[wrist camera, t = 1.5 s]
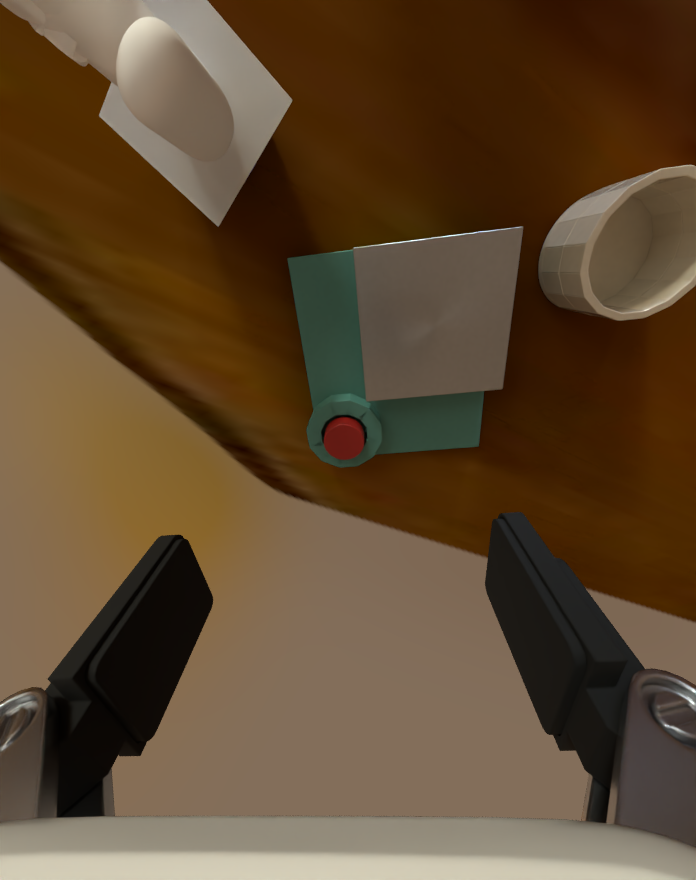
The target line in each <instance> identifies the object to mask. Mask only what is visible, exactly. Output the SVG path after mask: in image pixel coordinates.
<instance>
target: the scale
mask: <svg viewBox="0 0 696 880" xmlns="http://www.w3.org/2000/svg"><path fill="white" fill-rule="evenodd" d="M287 260H288V265H289V271H290V277H291V283H292V289H293V295H294V300H295V306H296V312H297V318H298V324H299V330H300V335H301V341H302V347H303V353H304V359H305V364H306V370H307V376H308V382H309V388H310V394H311V399H312V405H313V413H312V415H311V418H310V420H309V423H308V426H307V430H306V431H307V436H308V442H309V446H310V448H311V450H312V451H313V452H314V453H315V454H316V455H317V456H318V457H319V458H320V460H321V461H323V462H326V463H329V464H331V465H334V466H336V467H354V466H359V465H361V464H362V463H364V462H366V461H367V460H369V459H371V458H372V457H374V455H376V454H389V453H402V452H415V451H428V450H441V449H453V448H466V447H478V446H479V438H480V428H481V418H482V408H483V398H484V391H477V392H466V393H455V394H443V395H432V396H421V397H410V398H399V399H388V400H377V401H366V394H365V382H364V371H363V359H362V347H361V336H360V324H359V312H358V301H357V289H356V277H355V266H354V254H353V250H347V251H339V252H331V253H323V254H315V255H307V256H299V257H291V258H288V259H287ZM339 417H350V418H353V419H355V420H356V421H358V422H359V423H360V424H361V426H362V428H363V430H364V447H363V450H362V451H361V453H360V454H359V455H357V456H356V457H354V458H352V459H348V460H341V459H337V458H334V457H333V456H331V455H330V454H329V453H328V452H327V451H326V449H325V446H324V436H325V431H326V428H327V426H328V424H329V423H330V422H331V421H332V420H334V419H336V418H339Z"/></svg>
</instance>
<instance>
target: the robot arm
mask: <svg viewBox="0 0 696 880" xmlns="http://www.w3.org/2000/svg"><path fill="white" fill-rule="evenodd" d="M485 586H486V591H487V595H488V597H489V600H490V602H491V604H492V607H493V609H494V612H495V614H496V617H497V619H498V621H499V624H500V626H501V629H502V631H503V633H504V636H505V638H506V640H507V643H508V645H509V648H510V650H511V653H512V655H513V658H514V660H515V662H516V665H517V667H518V669H519V672H520V674H521V676H522V679H523V682H524V684H525V686H526V689H527V691H528V694H529V696H530V699H531V701H532V703H533V706H534V708H535V711H536V713H537V715H538V718H539V720H540V723H541V725H542V727H543V729H544V730H545V732H546V733H547V734H549V735H553V736H554V738H555V740H556V743H557V745H558V747H559V750H560V751H569V750H570V751H571V750H576V751H577V754H578V756H579V758H580V760H581V762H582V765H583V766H584V769H585V770H586V771H587V772H588V773H589V777H588V783H587V788H586V795H585V800H584V806H583V812H582V819H581V821H577V820H565V819H534V818H533V819H532V818H501V817H499V818H498V817H422V816H418V817H417V816H115V810H114V798H113V782H112V769H111V768H112V766H113V764H114V762H115V760H116V758H117V756H118V755H119V756H140V755H141V753H142V751H143V749H144V747H145V745H146V742H147V741H149V740H150V739H151V738H152V737H153V736H154V735H155V732H156V731H157V729H158V726H159V724H160V722H161V720H162V717H163V715H164V713H165V711H166V709H167V706H168V704H169V702H170V699H171V697H172V695H173V693H174V691H175V688H176V686H177V684H178V682H179V679H180V677H181V675H182V673H183V671H184V668H185V666H186V664H187V662H188V659H189V657H190V655H191V653H192V651H193V648H194V646H195V644H196V641H197V639H198V637H199V635H200V633H201V631H202V628H203V626H204V624H205V622H206V619H207V617H208V615H209V613H210V610H211V608H212V604H213V596H212V594H211V591H210V589H209V587H208V584H207V582H206V580H205V578H204V575H203V573H202V571H201V568H200V567H199V564H198V562H197V560H196V557H195V555H194V553H193V550H192V548H191V546H190V544H189V541H188V540H186V539H184V538H183V536H181V535H167V536H160V537H159V538H158V539H157V540H156V541H155V542H154V544H153V545H152V546H151V547H150V549H149V550H148V551H147V552H146V554H145V555H144V556H143V558H142V559H141V560H140V561H139V563H138V564H137V565H136V566H135V568H134V569H133V570H132V572H131V573H130V574H129V575H128V577H127V578H126V579H125V580H124V582H123V583H122V584H121V586H120V587H119V588H118V590H117V591H116V592H115V594H114V595H113V596H112V597H111V598H110V600H109V601H108V602H107V604H106V605H105V606H104V607H103V609H102V610H101V611H100V613H99V614H98V615H97V617H96V618H95V619H94V620H93V621H92V623H91V624H90V625H89V627H88V628H87V629H86V630H85V632H84V633H83V634H82V636H81V637H80V638H79V640H78V641H77V642H76V643H75V644H74V646H73V647H72V648H71V650H70V651H69V652H68V654H67V655H66V656H65V657H64V659H63V660H62V661H61V663H60V664H59V665H58V666H57V668H56V669H55V670H54V671H53V673H52V674H51V675H50V677H49V678H48V680H49V681H50V682H51V684H50V685H49V686H48V688H47V689H46V690H45V691H44V690H43V689H42V688H37V687H31V688H28V689H24V690H21V691H19V692H17V693H15V694H13V695H11V696H9V697H7V698H6V699H4V700H3V701H1V702H0V880H696V685H694V684H692V683H691V682H689V681H687V680H686V679H684V678H682V677H680V676H678V675H675V674H672V673H670V672H667V671H663V670H658V669H645V668H644V667H643V666H642V664H641V663H640V662H639V660H638V659H637V658H636V656H635V655H634V653H633V652H632V651H631V649H630V648H629V647H628V645H627V644H626V643H625V641H624V640H623V639H622V637H621V636H620V635H619V633H618V632H617V631H616V629H615V628H614V626H613V625H612V624H611V622H610V621H609V620H608V619H607V617H606V616H605V614H604V613H603V612H602V610H601V609H600V608H599V606H598V605H597V604H596V602H595V601H594V600H593V598H592V597H591V595H590V594H589V593H588V591H587V590H586V589H585V587H584V586H583V585H582V583H581V582H580V581H579V579H578V578H577V577H576V575H575V574H574V573H573V571H572V570H571V569H570V567H569V566H568V565H567V564H566V563H565V561H563V560H562V559H560V558H554V556H553V555H552V553H551V552H550V550H549V549H548V548H547V546H546V545H545V543H544V542H543V541H542V539H541V538H540V536H539V535H538V534H537V532H536V531H535V529H534V528H533V527H532V525H531V524H530V522H529V521H528V520H527V518H526V517H525V516H524V514H523V513H521V512H516V513H501V514H499V516H498V519H493V522H492V529H491V537H490V546H489V554H488V563H487V571H486V580H485Z"/></svg>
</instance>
